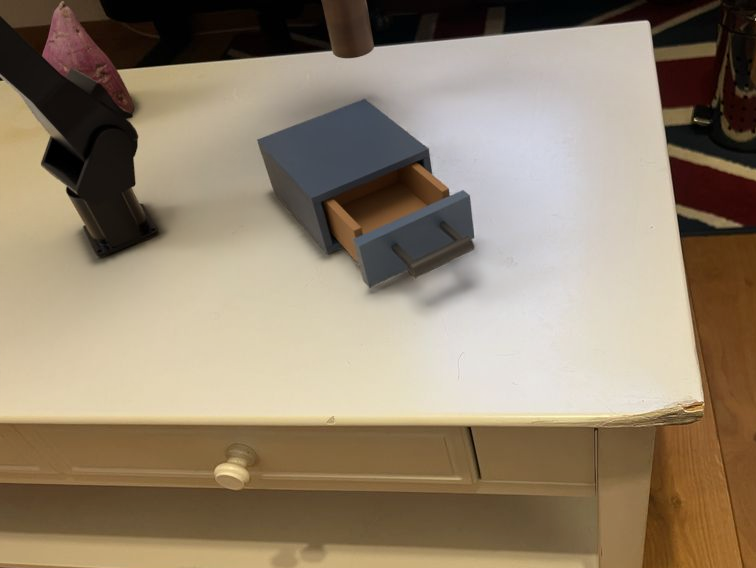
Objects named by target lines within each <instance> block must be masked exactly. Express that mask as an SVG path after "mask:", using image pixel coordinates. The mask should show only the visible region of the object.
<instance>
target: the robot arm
mask: <svg viewBox="0 0 756 568" xmlns="http://www.w3.org/2000/svg"><path fill="white" fill-rule="evenodd" d="M0 79H1V80H3V81H4V83H6V84H7V85H8V86H10V87H11V88H12V89H13V90H14V91H15V92H16V93H17V94H18V95H19V97H21V98H22V100H23V102H24V103H25V105H26V106H27V107H28V109H29V110H30V112H31V113H32V115H33V117H34V118H35V119H36V120H37V122H38V123H39V124H40V125H41V126H42V127H43V128H44V130H45V131H46V132H47V134H49V139H48V142H47V145H46V147H45V150H44V153H43V155H42V159H41V161H40V166H41V167H42V168H43V169H44V170H45V171H47V172H48V173H49V174H50V175H51V176H52V177H54V178H55V179H56V180H58V181H60V182H61V183H62V184H63V185H64V186H66V188H65V192H66V195H67V196H68V198H69V200H70V202H71V203H72V205H73V207H74V208H75V210H76V212H77V214H78V215H79V217H80V219H81V221H82V222H83V224H84V225H83V227H82V228H83V231H84V233H85V235H86V237H87V239H88V241H89V244H90V246H91V247H92V250H93V252H94V254H95V256H96V257H97V258H104V257H107V256H108V255H111V254H112V253H115V252H118V251H121V250H123V249H125V248H128V247H131V246H132V245H135V244H137V243H140V242H142V241H145V240H148V239H149V238H152V237H155V236H157V235H158V234H159V233H160V230H159V228H158V226H157V224H156V223H155V221H154V220H153V217H152V216H151V215H150V213H149V211H148V209H147V208H146V206H145V205H144V203H141V202H140V201H139V199H138V197H137V195H136V193H135V191H134V189H133V188H134V187H135V186H136V185H137V184H136V171H135V159H134V157H135V156H136V155H137V154H136V153H137V150H138V148H139V147H138V146H139V145H138V144H139V143H138V142H139V141H138V140H139V134H138V132H137V129H136V127H134V125H133V124H132V122H130V121H129V120H128V119H131V118H133V117H134V115H133V113H130V112H128V111H126V110H125V109H123V108H121V107H120V106H118V105H117V104H116V103H115V102H114V100H113V99H112V98H111V96H110V95H109V93H108V92H107V91H106V90H105V88H104V87H103V86H102V85H101V84H100V83H98V82H97V81H95V80H93V79H92V78H90V77H88V76H86V75H85V74H83V73H81V72H79V71H78V70H76V69H74V68H71V69H70V71H69V72H68V74H67V75H66V77H64V76H63V75H61V74H60V73H59V72H58V71H57V70H56V69H55V68H54V67H53V66H52V65H51V64H50V63H49V62H48V61H47V60H46V59H45V58H43V57H42V54H40V52H38V51H37V50H36V48H35V47H33V46H32V45H31V44H30V43H29V42H28V41H27V40H26V39H25V38H24V37H23V36H22V35H21V34H20V33H19V32H18V31H17V30H16V29H14V27H12V26H11V24H9V23H8V22H7V21H6V20H5V19H4V18H3V17H2V16H1V15H0Z"/></svg>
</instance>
